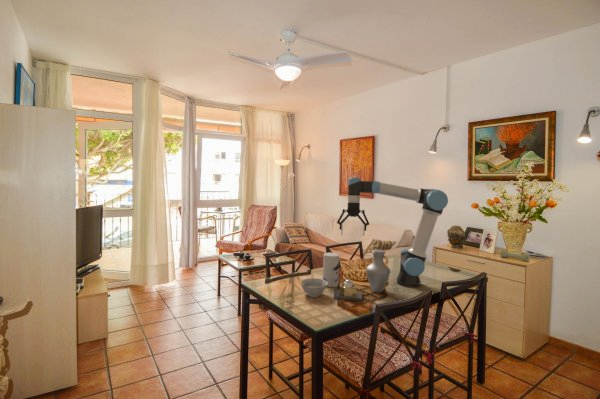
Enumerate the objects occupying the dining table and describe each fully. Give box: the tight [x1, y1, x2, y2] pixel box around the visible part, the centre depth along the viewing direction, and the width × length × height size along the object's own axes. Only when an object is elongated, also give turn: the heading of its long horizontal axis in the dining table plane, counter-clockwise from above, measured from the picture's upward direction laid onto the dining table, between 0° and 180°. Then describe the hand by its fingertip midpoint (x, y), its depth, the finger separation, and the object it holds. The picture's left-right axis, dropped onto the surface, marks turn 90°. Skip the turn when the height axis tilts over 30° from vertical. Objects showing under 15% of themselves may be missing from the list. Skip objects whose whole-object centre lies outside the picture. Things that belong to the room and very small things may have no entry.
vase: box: [365, 248, 391, 293], centre depth 202 cm, size 14×14×25 cm
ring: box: [338, 281, 358, 297], centre depth 193 cm, size 10×10×5 cm
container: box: [322, 252, 340, 288], centre depth 211 cm, size 10×10×20 cm
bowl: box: [299, 277, 328, 298], centre depth 193 cm, size 16×16×8 cm
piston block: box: [333, 278, 363, 302], centre depth 193 cm, size 16×12×10 cm
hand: (352, 235), depth 209 cm, fingers open, 13 cm apart
